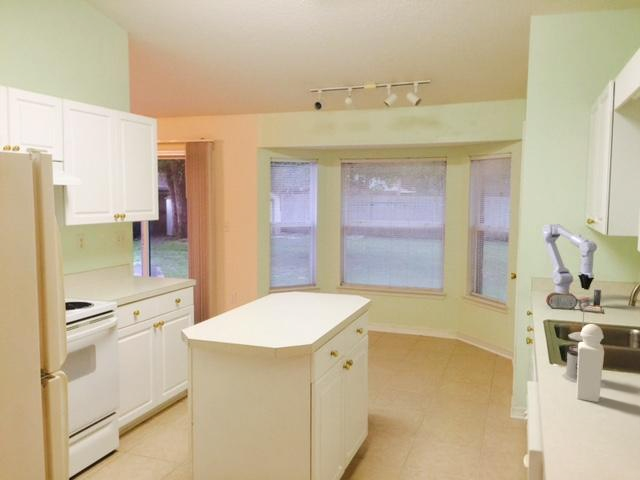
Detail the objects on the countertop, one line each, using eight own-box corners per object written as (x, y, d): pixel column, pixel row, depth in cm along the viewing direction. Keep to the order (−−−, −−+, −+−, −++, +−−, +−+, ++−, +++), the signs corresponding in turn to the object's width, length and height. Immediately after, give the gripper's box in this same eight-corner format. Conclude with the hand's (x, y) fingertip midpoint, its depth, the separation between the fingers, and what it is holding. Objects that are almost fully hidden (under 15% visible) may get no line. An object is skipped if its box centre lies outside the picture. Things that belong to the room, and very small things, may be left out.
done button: (579, 301, 277) (579, 296, 276) (588, 302, 275) (588, 297, 275) (579, 303, 273) (580, 298, 273) (589, 304, 271) (589, 299, 271)
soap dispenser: (574, 391, 154) (579, 320, 152) (599, 395, 151) (604, 323, 149) (575, 399, 148) (580, 325, 146) (600, 403, 145) (606, 328, 143)
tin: (575, 308, 268) (576, 292, 267) (577, 310, 264) (578, 294, 264) (545, 307, 269) (546, 291, 268) (547, 308, 266) (548, 293, 265)
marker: (592, 305, 275) (594, 289, 275) (599, 306, 274) (600, 289, 273) (593, 306, 272) (594, 290, 272) (600, 307, 271) (601, 290, 270)
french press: (555, 374, 169) (560, 300, 166) (585, 371, 172) (590, 299, 169) (577, 385, 159) (582, 306, 157) (608, 382, 162) (614, 305, 160)
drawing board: (580, 306, 272) (580, 304, 272) (601, 308, 268) (601, 307, 268) (580, 311, 261) (580, 309, 261) (602, 313, 257) (603, 311, 257)
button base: (578, 304, 277) (579, 299, 277) (589, 305, 275) (589, 300, 275) (578, 306, 273) (579, 300, 273) (589, 307, 271) (589, 301, 270)
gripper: (574, 261, 279) (572, 286, 281) (584, 265, 265) (582, 291, 266) (587, 262, 279) (586, 286, 280) (598, 265, 264) (596, 291, 266)
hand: (585, 288), depth 273 cm, fingers open, 3 cm apart
